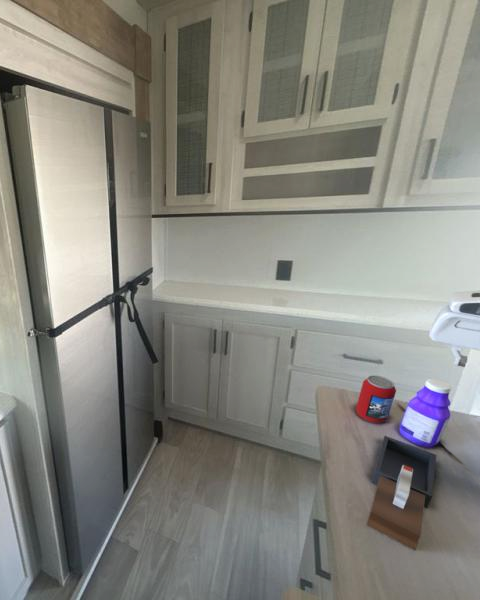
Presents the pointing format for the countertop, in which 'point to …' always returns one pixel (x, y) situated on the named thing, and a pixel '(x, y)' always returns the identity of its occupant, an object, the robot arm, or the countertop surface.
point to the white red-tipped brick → (403, 486)
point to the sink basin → (405, 454)
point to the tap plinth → (397, 514)
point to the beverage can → (376, 399)
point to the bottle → (427, 414)
